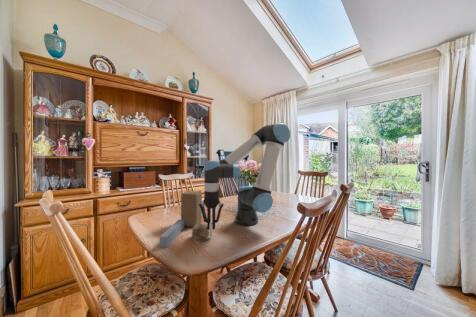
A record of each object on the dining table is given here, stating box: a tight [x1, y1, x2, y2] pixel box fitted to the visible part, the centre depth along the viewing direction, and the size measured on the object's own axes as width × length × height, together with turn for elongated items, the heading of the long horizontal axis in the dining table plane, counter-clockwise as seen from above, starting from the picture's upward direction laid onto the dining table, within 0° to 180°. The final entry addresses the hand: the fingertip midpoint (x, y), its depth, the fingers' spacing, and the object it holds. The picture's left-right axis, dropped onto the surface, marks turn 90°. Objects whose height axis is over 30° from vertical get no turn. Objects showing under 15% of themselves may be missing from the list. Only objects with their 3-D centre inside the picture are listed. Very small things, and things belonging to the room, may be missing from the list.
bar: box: [159, 219, 185, 248], centre depth 106 cm, size 4×24×5 cm, turn 176°
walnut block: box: [191, 223, 210, 242], centre depth 105 cm, size 7×7×6 cm
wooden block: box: [180, 190, 203, 228], centre depth 125 cm, size 10×10×20 cm
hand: (211, 235), depth 105 cm, fingers closed
